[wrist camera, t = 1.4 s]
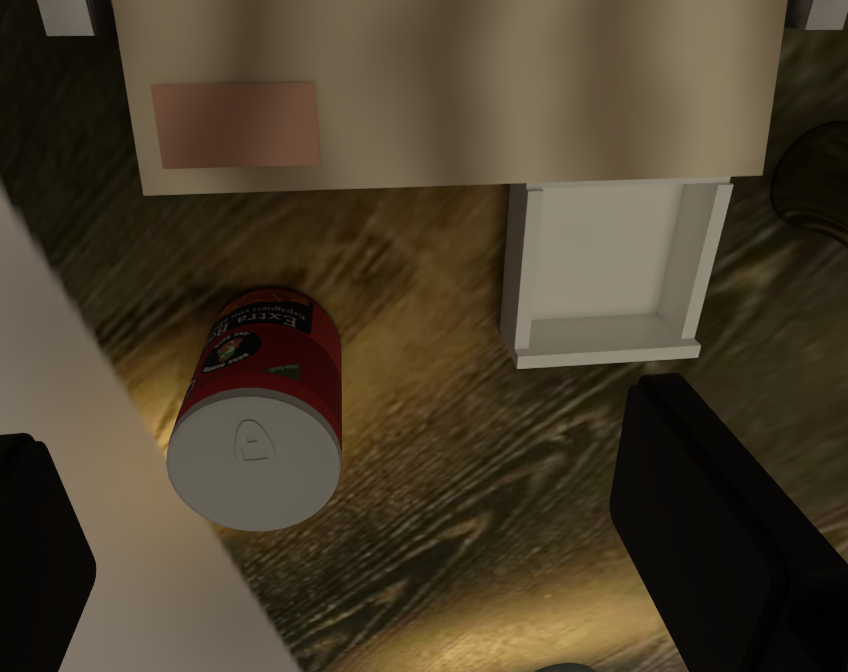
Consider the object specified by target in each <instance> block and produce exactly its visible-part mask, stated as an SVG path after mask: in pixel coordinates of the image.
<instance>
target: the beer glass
mask: <svg viewBox="0 0 848 672" xmlns="http://www.w3.org/2000/svg"><path fill="white" fill-rule="evenodd" d="M772 201H773V205H774V208H775V210H776V212H777V213H778V215H779V216H780V217H781V218H782V219H783V220H784V221H785V222H787V223H788V224H790V225H792V226H795V227H798V228H801V229H805V230H809V231H813V232H817V233H821V234H824V235H826V236H829V237H831V238H833V239H834V240H836V241H838V242H839V243H841V244H842V245H843V246H844V247H846V248H847V249H848V122H834V123H829V124H826V125H823V126H820V127H818V128H816V129H814V130H812V131H811V132H809V133H807V134H806V135H805V136H803V137H802V138H801V139H800V140H798V141H797V142H796V143H795V144H794V145H793V146H792V147H791V149H790V150H789V151H788V152H787V153H786V155H785V156H784V158H783V159H782V161H781V163H780V164H779V166H778V169H777V171H776V173H775V176H774V180H773V184H772Z"/></svg>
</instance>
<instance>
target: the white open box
mask: <svg viewBox="0 0 848 672" xmlns="http://www.w3.org/2000/svg"><path fill="white" fill-rule="evenodd" d="M730 177H731V176H729V177H698V178H668V179H637V180H607V181H576V182H546V183H515V184H510V192H509V206H508V220H507V234H506V248H505V262H504V276H503V290H502V304H501V318H500V332H501V334H502V337H503V339H504V341H505V343H506V346H507V348H508V350H509V352H510V355H511V357H512V359H513V361H514V363H515V366H516V368H517V369H524V368H540V367H556V366H571V365H587V364H603V363H619V362H635V361H651V360H667V359H682V358H698V355H699V351H700V347H701V345H700V344H699V343H698V342H697V341H696V340H695V339H694V337H695V333H696V329H697V325H698V321H699V317H700V313H701V310H702V306H703V302H704V298H705V294H706V290H707V286H708V282H709V278H710V274H711V270H712V267H713V263H714V259H715V255H716V251H717V247H718V243H719V239H720V235H721V231H722V227H723V224H724V220H725V216H726V212H727V208H728V204H729V200H730V196H731V192H732V188H733V184H731V183H729V181H730Z"/></svg>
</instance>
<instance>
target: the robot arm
mask: <svg viewBox="0 0 848 672" xmlns="http://www.w3.org/2000/svg"><path fill="white" fill-rule="evenodd" d="M610 514H611V518H612V521H613V523H614V526H615V528H616V530H617V532H618V534H619V536H620V537H621V539H622V541H623V543H624V545H625V547H626V549H627V551H628V553H629V555H630V557H631V559H632V561H633V563H634V565H635V567H636V569H637V571H638V573H639V575H640V577H641V579H642V580H643V582H644V584H645V586H646V588H647V590H648V592H649V594H650V596H651V598H652V600H653V602H654V604H655V606H656V608H657V610H658V612H659V614H660V616H661V618H662V620H663V622H664V624H665V625H666V627H667V629H668V631H669V633H670V635H671V637H672V639H673V641H674V643H675V645H676V647H677V649H678V651H679V653H680V655H681V657H682V659H683V661H684V663H685V665H686V667H687V668H688V670H689V672H848V564H847V563H846V562H845V560H844V559H843V558H842V557H841V556H840V555H839V554H838V552H837V551H836V550H835V549H834V548H833V547H832V546H831V545H830V543H829V542H828V541H827V540H826V539H825V538H824V537H823V535H822V534H821V533H820V532H819V531H818V530H817V529H816V527H815V526H814V525H813V524H812V523H811V522H810V521H809V520H808V518H807V517H806V516H805V515H804V514H803V513H802V512H801V510H800V509H799V508H798V507H797V506H796V505H795V504H794V503H793V501H792V500H791V499H790V498H789V497H788V496H787V495H786V493H785V492H784V491H783V490H782V489H781V488H780V487H779V485H778V484H777V483H776V482H775V481H774V480H773V479H772V478H771V476H770V475H769V474H768V473H767V472H766V471H765V470H764V468H763V467H762V466H761V465H760V464H759V463H758V462H757V461H756V459H755V458H754V457H753V456H752V455H751V454H750V453H749V451H748V450H747V449H746V448H745V447H744V446H743V445H742V444H741V442H740V441H739V440H738V439H737V438H736V437H735V436H734V434H733V433H732V432H731V431H730V430H729V429H728V428H727V426H726V425H725V424H724V423H723V422H722V421H721V420H720V419H719V417H718V416H717V415H716V414H715V413H714V412H713V411H712V409H711V408H710V407H709V406H708V405H707V404H706V403H705V402H704V400H703V399H702V398H701V397H700V396H699V395H698V394H697V392H696V391H695V390H694V389H693V388H692V387H691V386H690V384H689V383H688V382H687V381H686V380H685V379H684V378H683V377H682V376H681V375H680V374H679V373H675V372H674V373H663V374H653V375H644V376H642V377H641V378H640V379H639V381H638V384H637V385H632V386H631V387H630V388H629V391H628V395H627V401H626V407H625V413H624V419H623V425H622V431H621V437H620V443H619V449H618V455H617V461H616V467H615V473H614V479H613V485H612V491H611V497H610ZM95 578H96V562H95V559H94V556H93V554H92V551H91V549H90V547H89V545H88V542H87V540H86V538H85V535H84V533H83V530H82V528H81V526H80V523H79V521H78V519H77V516H76V514H75V512H74V509H73V507H72V505H71V502H70V500H69V498H68V495H67V493H66V491H65V488H64V486H63V484H62V481H61V479H60V477H59V474H58V472H57V470H56V467H55V465H54V462H53V460H52V458H51V455H50V453H49V451H48V448H47V447H46V445H45V444H44V443H43V442H41V441H35V440H34V439H33V437H32V436H31V435H29V434H27V433H18V434H6V435H0V672H58V670H59V668H60V666H61V663H62V661H63V658H64V656H65V653H66V651H67V648H68V646H69V644H70V641H71V639H72V636H73V634H74V632H75V629H76V627H77V624H78V622H79V619H80V617H81V614H82V612H83V609H84V607H85V605H86V602H87V600H88V597H89V595H90V592H91V590H92V588H93V585H94V582H95Z"/></svg>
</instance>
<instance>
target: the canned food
mask: <svg viewBox="0 0 848 672" xmlns="http://www.w3.org/2000/svg"><path fill="white" fill-rule="evenodd" d="M341 453H342V361H341V342H340V338H339V334H338V332H337V330H336V328H335V326H334V324H333V322H332V321H331V319H330V318H329V317H328V315H327V314H326V313H325V311H324V310H323V309H322V308H321V307H320V306H319V305H318V304H316V303H315V302H314V301H312V300H311V299H309V298H308V297H306V296H304V295H302V294H299V293H297V292H294V291H291V290H286V289H280V288H266V289H260V290H255V291H252V292H249V293H247V294H244V295H242V296H241V297H239V298H238V299H236V300H235V301H233V302H231V303H230V304H228V305H227V306H226V307H225V308H224V309H223V310H222V311H221V312H220V314H219V315H218V317H217V318H216V320H215V322H214V323H213V325H212V328H211V331H210V333H209V336H208V338H207V341H206V344H205V346H204V349H203V351H202V354H201V356H200V359H199V362H198V364H197V367H196V369H195V372H194V375H193V377H192V380H191V382H190V385H189V387H188V390H187V393H186V395H185V398H184V400H183V403H182V406H181V408H180V411H179V413H178V416H177V419H176V422H175V425H174V428H173V431H172V434H171V437H170V440H169V446H168V450H167V461H166V465H167V471H168V476H169V479H170V481H171V483H172V485H173V487H174V490H175V491H176V493H177V494H178V495H179V496H180V498H181V499H182V500H183V502H185V503H186V504H187V505H188V506H189V507H190V508H191V509H192V510H193V511H195V512H196V513H198V514H199V515H201V516H203V517H204V518H206V519H207V520H210V521H212V522H214V523H217V524H219V525H222V526H225V527H229V528H233V529H237V530H246V531H271V530H276V529H281V528H286V527H289V526H292V525H294V524H297V523H300V522H302V521H303V520H305V519H307V518H309V517H311V516H312V515H314V514H315V513H316V512H317V511H319V510H320V509H321V508H322V507H323V506H324V505H325V504H326V502H327V501H328V500H329V499H330V498H331V496H332V494H333V492H334V490H335V488H336V486H337V483H338V479H339V475H340V468H341Z"/></svg>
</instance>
